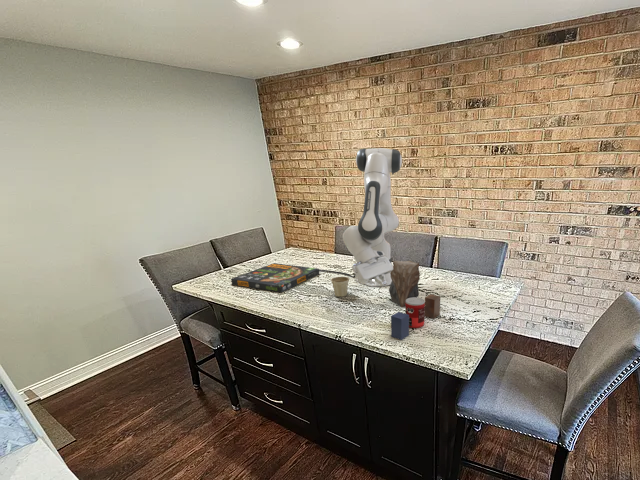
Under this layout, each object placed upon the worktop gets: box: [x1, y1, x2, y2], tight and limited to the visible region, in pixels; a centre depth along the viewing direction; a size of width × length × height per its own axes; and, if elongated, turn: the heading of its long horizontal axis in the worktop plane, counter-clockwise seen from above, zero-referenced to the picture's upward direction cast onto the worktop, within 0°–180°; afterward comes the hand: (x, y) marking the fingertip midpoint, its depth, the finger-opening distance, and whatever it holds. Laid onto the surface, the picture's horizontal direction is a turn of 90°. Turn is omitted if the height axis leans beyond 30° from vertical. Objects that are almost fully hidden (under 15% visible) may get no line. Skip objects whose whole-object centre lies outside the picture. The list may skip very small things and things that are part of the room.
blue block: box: [390, 311, 410, 341], centre depth 132 cm, size 5×5×9 cm
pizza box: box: [230, 262, 320, 293], centre depth 200 cm, size 35×35×4 cm
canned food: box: [404, 297, 425, 329], centre depth 141 cm, size 8×8×11 cm
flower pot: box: [330, 276, 350, 298], centre depth 174 cm, size 9×9×9 cm
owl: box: [388, 260, 421, 308], centre depth 164 cm, size 13×13×20 cm
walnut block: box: [424, 293, 441, 320], centre depth 150 cm, size 5×5×9 cm
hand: (384, 284), depth 147 cm, fingers closed
